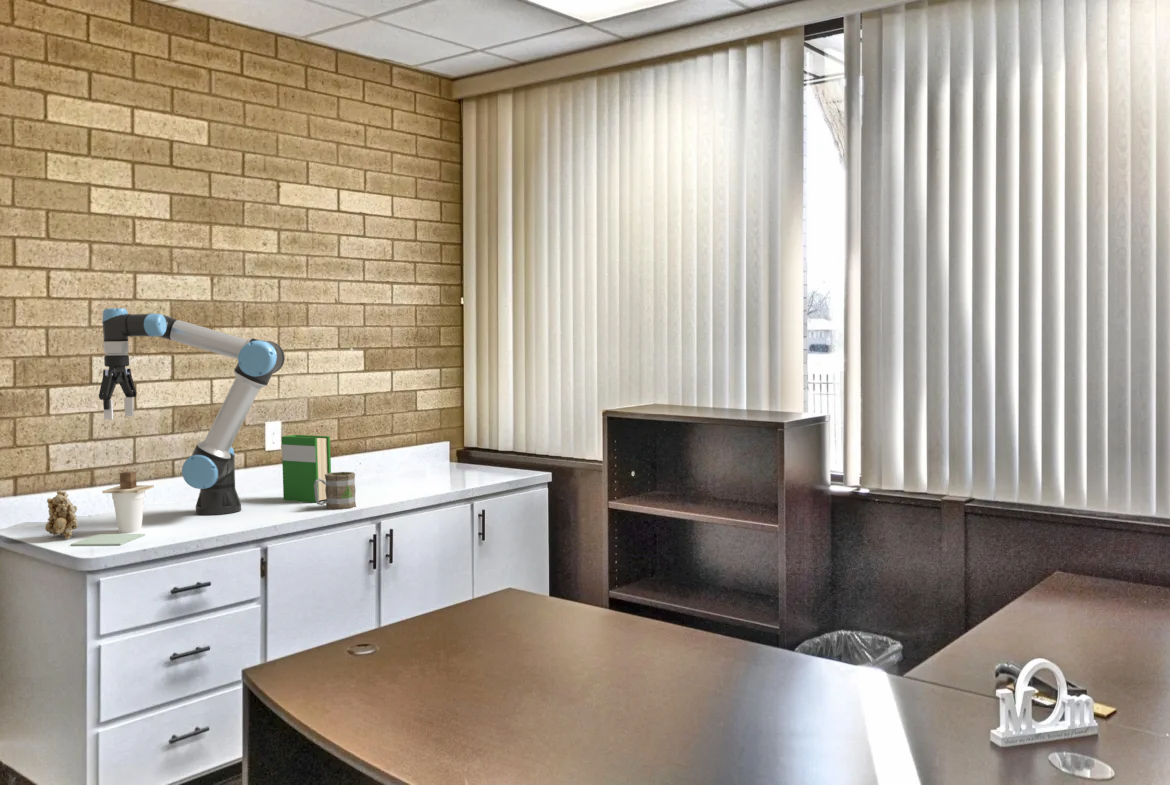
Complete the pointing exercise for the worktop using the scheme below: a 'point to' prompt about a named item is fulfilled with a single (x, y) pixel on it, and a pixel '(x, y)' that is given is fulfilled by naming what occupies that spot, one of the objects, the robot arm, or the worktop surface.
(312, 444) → the hardback book
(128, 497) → the foam cup
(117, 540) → the mat
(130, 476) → the lid
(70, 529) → the mineral formation
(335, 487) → the mug
